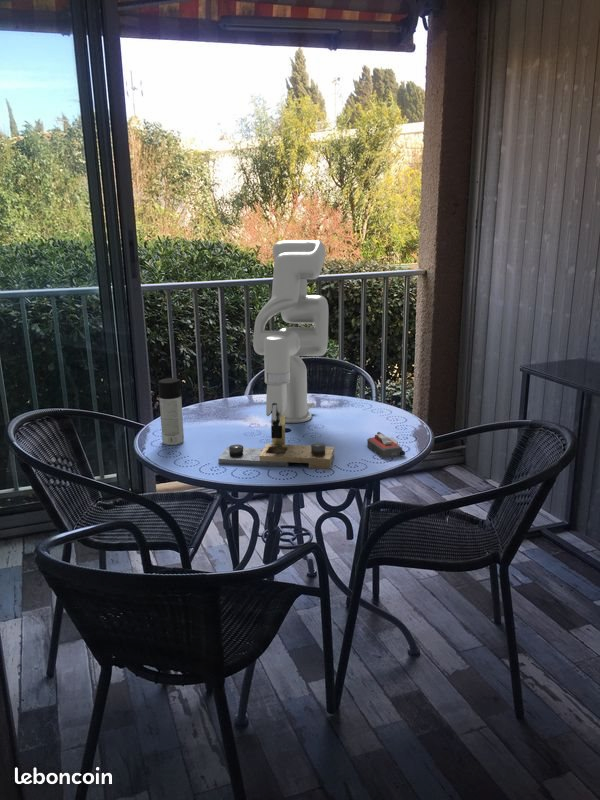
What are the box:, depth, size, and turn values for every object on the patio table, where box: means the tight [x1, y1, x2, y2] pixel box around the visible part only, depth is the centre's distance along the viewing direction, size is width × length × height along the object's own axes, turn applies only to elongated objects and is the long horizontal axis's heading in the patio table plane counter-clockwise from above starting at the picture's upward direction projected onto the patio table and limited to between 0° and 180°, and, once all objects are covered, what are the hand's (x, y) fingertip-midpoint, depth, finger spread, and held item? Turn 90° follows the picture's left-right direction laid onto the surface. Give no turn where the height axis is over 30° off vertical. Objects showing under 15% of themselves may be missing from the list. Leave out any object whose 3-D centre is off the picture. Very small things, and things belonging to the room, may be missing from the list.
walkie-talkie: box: [366, 431, 406, 459], centre depth 201 cm, size 9×4×20 cm
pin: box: [270, 413, 286, 445], centre depth 203 cm, size 4×4×12 cm
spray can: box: [157, 377, 185, 446], centre depth 205 cm, size 7×7×20 cm
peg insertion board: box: [218, 442, 335, 470], centre depth 191 cm, size 10×32×5 cm, turn 81°
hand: (278, 434), depth 203 cm, fingers open, 4 cm apart
